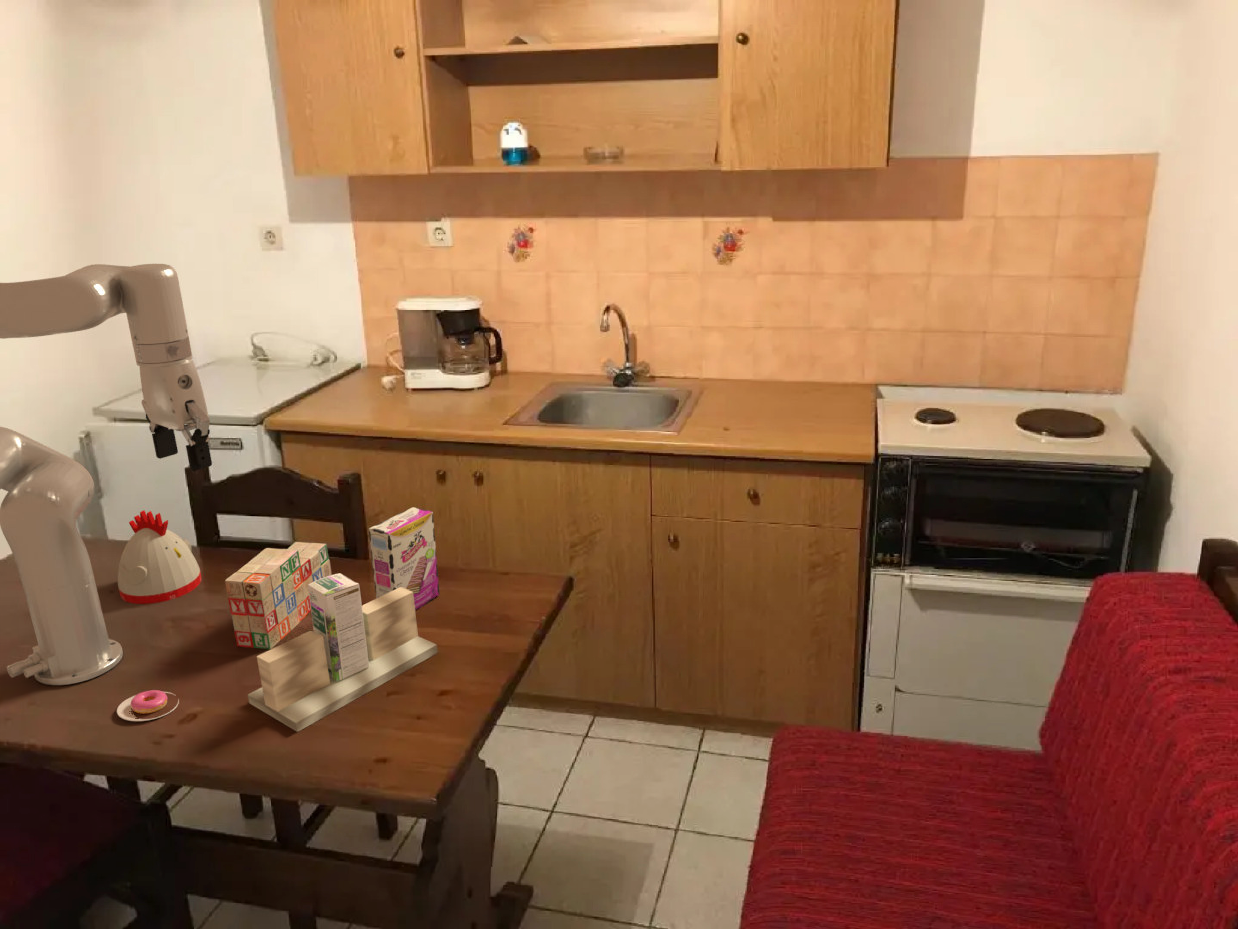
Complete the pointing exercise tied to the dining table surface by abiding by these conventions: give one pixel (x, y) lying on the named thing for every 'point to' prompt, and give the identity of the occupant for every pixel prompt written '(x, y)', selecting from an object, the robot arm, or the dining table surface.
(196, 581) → the kitchen timer
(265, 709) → the slotted board
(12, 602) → the dining table surface
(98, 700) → the dining table surface
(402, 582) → the candy bar box
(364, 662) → the syrup box
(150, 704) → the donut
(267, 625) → the stack of blocks
